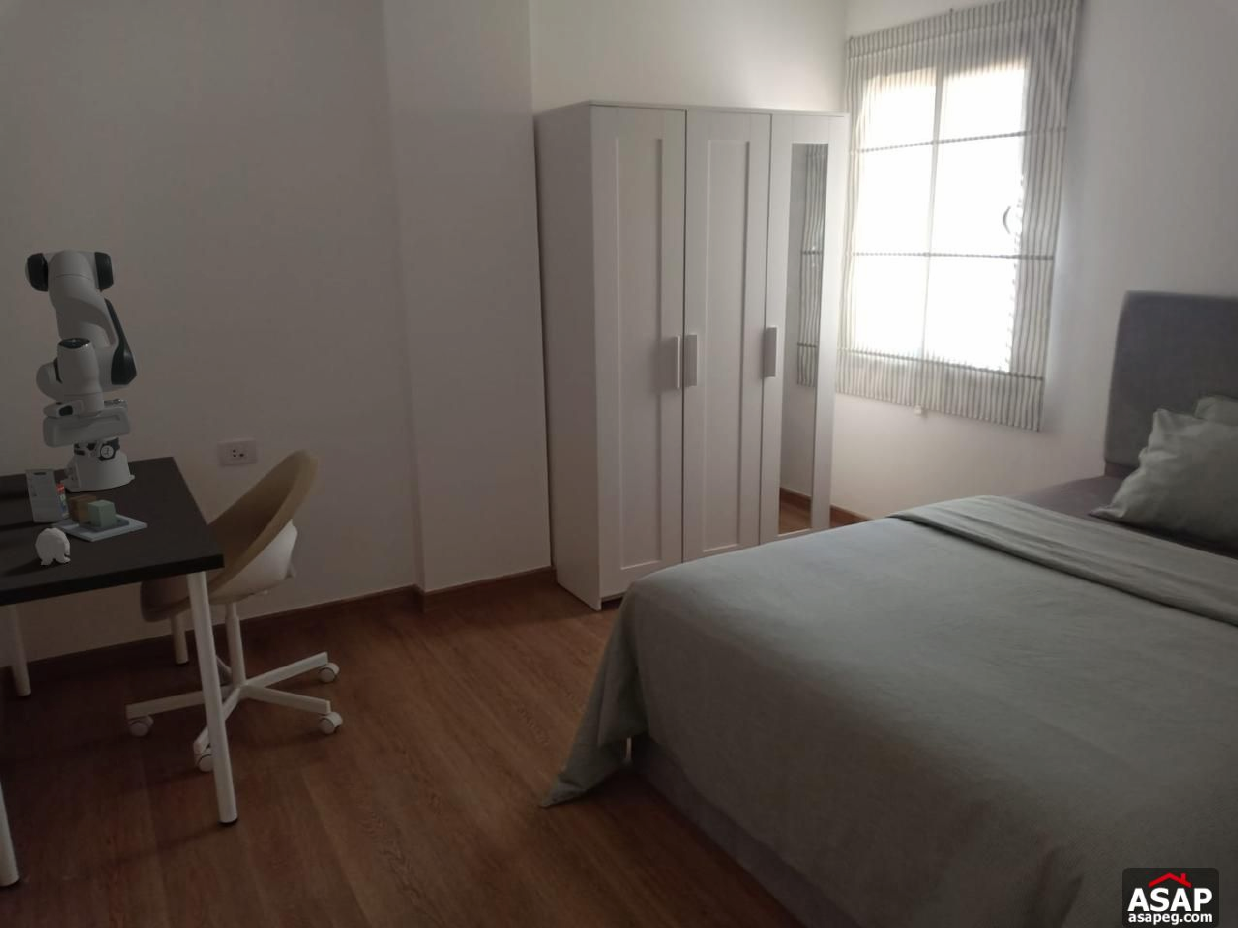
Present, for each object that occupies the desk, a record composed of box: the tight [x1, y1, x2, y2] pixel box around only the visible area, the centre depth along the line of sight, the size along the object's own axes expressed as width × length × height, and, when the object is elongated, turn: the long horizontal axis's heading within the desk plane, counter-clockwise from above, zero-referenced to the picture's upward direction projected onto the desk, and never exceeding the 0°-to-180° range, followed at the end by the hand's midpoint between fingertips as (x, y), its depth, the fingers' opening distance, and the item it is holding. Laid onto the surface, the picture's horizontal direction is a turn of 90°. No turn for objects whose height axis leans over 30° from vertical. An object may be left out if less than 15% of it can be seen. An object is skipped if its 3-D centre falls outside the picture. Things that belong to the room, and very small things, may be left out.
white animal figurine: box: [34, 527, 71, 566], centre depth 226 cm, size 6×8×12 cm
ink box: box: [25, 468, 71, 523], centre depth 257 cm, size 4×8×15 cm, turn 90°
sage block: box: [87, 499, 117, 527], centre depth 248 cm, size 6×4×6 cm, turn 53°
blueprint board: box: [51, 493, 148, 543], centre depth 250 cm, size 22×14×7 cm, turn 53°
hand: (93, 457), depth 245 cm, fingers closed
